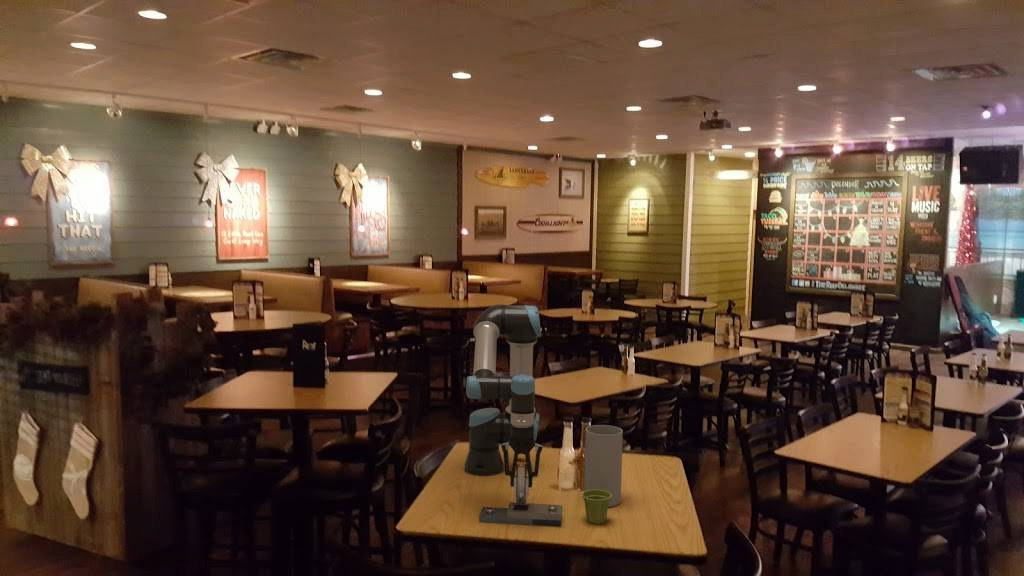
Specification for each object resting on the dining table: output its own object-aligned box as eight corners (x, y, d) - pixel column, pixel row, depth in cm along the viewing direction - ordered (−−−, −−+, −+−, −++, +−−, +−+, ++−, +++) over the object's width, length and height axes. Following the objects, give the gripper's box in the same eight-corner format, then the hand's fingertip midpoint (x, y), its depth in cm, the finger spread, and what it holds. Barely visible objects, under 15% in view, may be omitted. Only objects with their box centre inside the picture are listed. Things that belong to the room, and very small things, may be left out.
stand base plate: (478, 522, 234) (479, 507, 234) (482, 512, 242) (482, 498, 242) (560, 526, 232) (561, 511, 231) (562, 517, 239) (562, 502, 239)
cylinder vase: (593, 492, 263) (595, 423, 261) (626, 499, 256) (628, 428, 254) (578, 503, 252) (579, 431, 250) (612, 510, 245) (613, 437, 244)
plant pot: (587, 527, 231) (588, 500, 230) (577, 516, 240) (577, 490, 239) (615, 525, 234) (616, 498, 233) (604, 514, 243) (604, 488, 242)
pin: (512, 502, 237) (512, 459, 236) (522, 499, 239) (523, 457, 238) (519, 506, 234) (520, 463, 232) (530, 503, 236) (531, 460, 235)
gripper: (495, 426, 232) (494, 499, 233) (547, 429, 230) (545, 502, 232) (498, 420, 239) (497, 491, 241) (548, 422, 237) (547, 494, 239)
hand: (521, 496), depth 236 cm, fingers closed on pin, 3 cm apart
